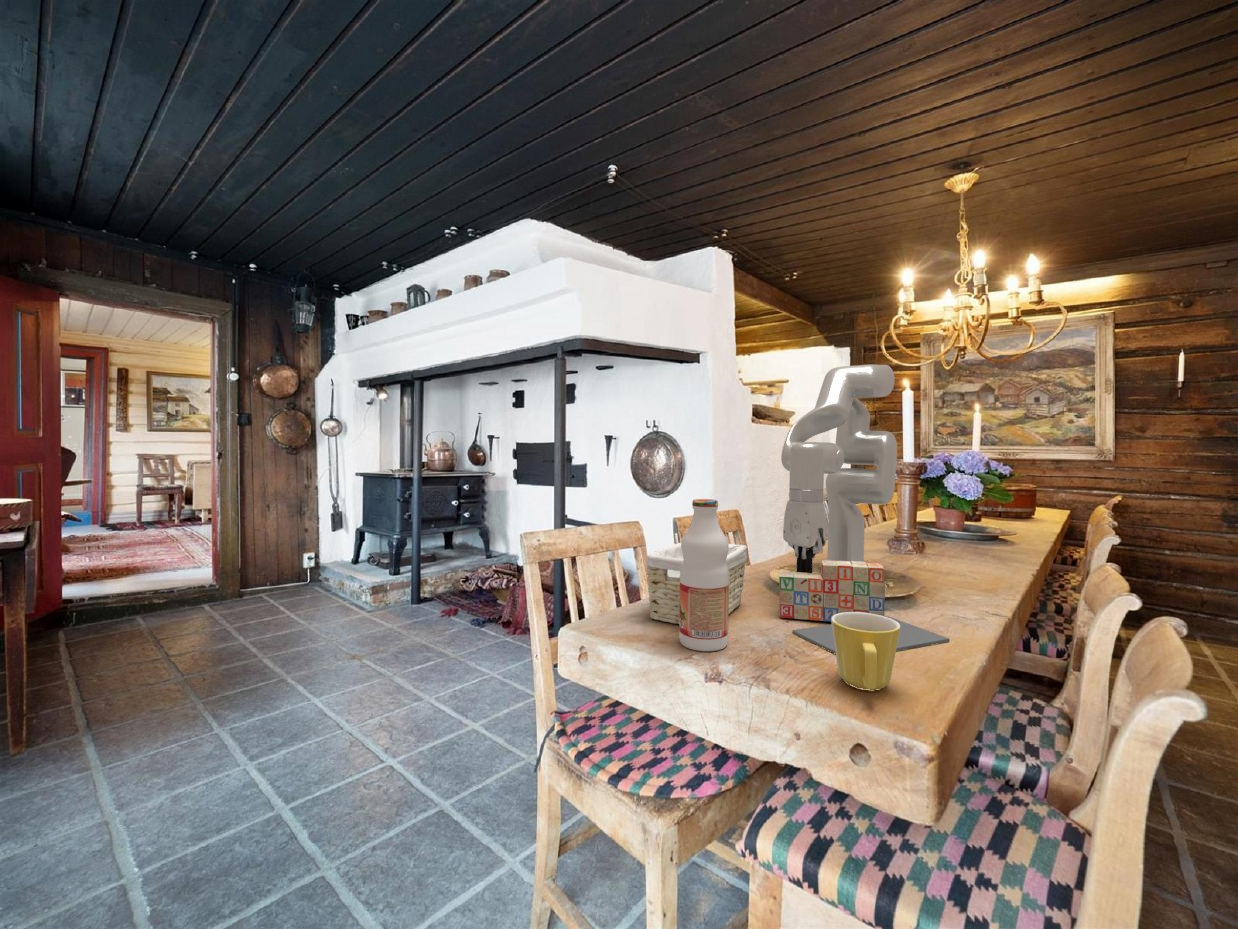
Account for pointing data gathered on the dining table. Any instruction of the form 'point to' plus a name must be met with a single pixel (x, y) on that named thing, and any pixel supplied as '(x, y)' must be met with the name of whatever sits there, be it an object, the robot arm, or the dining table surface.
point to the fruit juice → (704, 581)
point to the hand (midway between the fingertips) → (804, 574)
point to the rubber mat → (908, 633)
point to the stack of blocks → (832, 591)
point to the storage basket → (667, 580)
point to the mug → (865, 648)
